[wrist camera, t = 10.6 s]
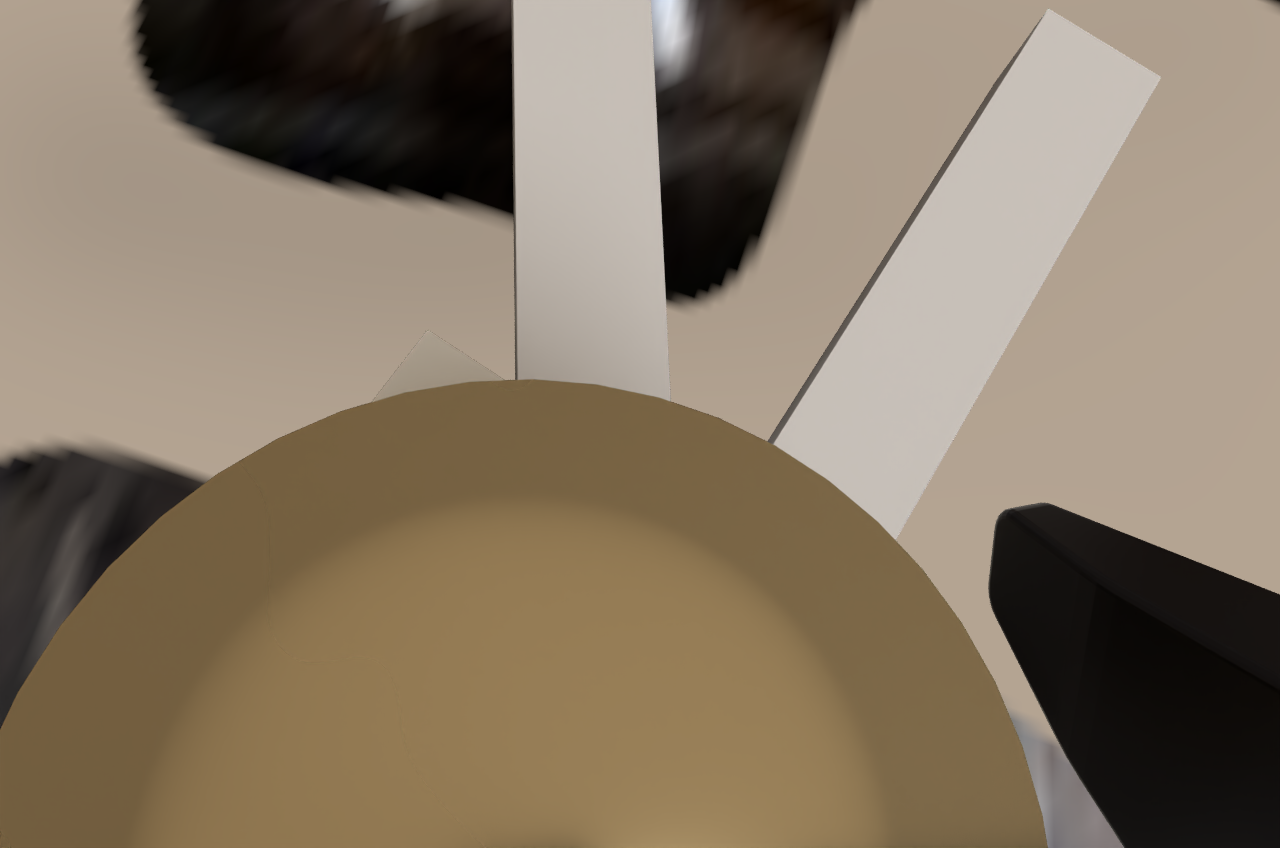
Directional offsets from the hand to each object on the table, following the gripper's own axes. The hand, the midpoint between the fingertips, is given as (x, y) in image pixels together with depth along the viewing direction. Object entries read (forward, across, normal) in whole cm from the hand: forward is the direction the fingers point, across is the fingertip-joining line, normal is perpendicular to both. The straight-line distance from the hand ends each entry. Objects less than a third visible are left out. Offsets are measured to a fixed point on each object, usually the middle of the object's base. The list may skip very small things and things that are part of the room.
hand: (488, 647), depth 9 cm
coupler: (+5, 0, +7) cm, 8 cm away
